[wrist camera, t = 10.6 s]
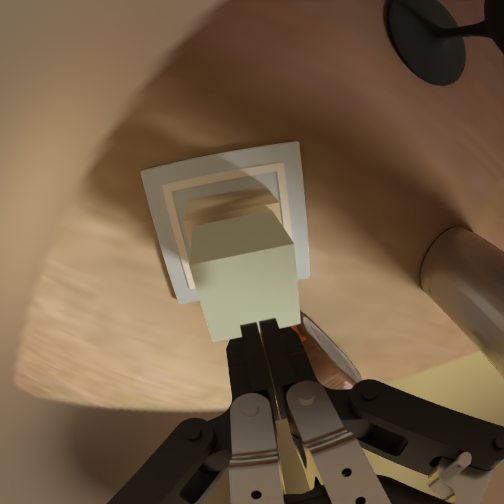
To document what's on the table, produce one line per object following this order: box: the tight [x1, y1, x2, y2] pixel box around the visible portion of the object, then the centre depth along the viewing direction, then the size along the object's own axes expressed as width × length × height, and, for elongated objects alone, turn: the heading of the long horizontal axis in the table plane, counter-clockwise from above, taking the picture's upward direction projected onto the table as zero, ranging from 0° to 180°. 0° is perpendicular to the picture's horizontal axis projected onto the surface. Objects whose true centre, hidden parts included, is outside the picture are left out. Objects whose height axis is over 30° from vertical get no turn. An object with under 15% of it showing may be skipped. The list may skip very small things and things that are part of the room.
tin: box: [280, 312, 362, 389], centre depth 28 cm, size 15×3×8 cm, turn 39°
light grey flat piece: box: [140, 141, 310, 304], centre depth 24 cm, size 12×12×1 cm
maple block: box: [183, 186, 282, 249], centre depth 21 cm, size 6×6×4 cm
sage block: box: [189, 211, 301, 342], centre depth 17 cm, size 5×5×5 cm
